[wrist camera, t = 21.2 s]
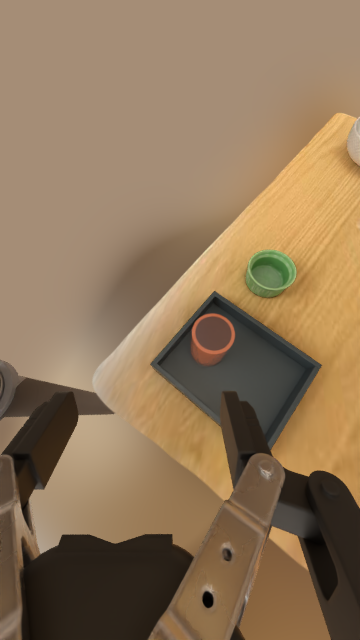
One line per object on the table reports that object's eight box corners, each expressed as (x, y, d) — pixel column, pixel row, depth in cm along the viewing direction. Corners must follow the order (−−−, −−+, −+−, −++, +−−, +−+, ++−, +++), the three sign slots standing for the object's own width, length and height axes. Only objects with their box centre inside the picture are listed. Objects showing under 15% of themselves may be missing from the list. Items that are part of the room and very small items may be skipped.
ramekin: (234, 285, 47) (239, 273, 43) (256, 255, 50) (262, 241, 46) (273, 308, 45) (282, 298, 41) (294, 276, 48) (305, 264, 44)
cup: (210, 373, 40) (218, 363, 32) (183, 351, 42) (183, 335, 33) (231, 346, 42) (243, 330, 33) (204, 326, 43) (209, 305, 35)
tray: (256, 457, 36) (263, 462, 32) (152, 368, 41) (150, 364, 38) (310, 369, 41) (322, 365, 37) (212, 299, 46) (214, 290, 43)
